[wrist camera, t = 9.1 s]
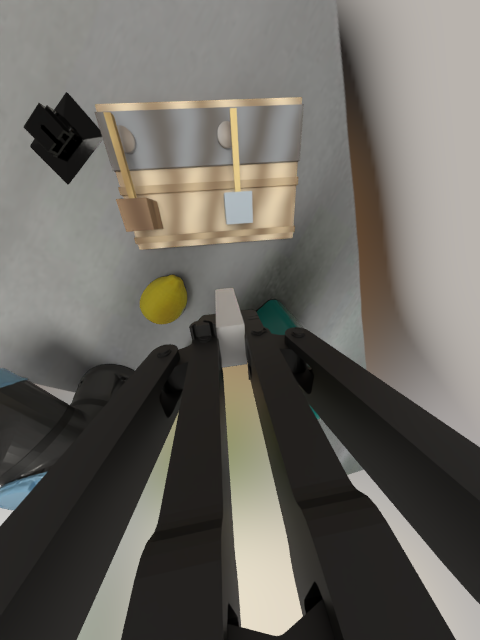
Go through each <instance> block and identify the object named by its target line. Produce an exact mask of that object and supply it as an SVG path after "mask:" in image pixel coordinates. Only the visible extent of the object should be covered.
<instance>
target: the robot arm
mask: <svg viewBox="0 0 480 640" xmlns="http://www.w3.org/2000/svg"><path fill="white" fill-rule="evenodd" d="M215 301H216V314H212V315H203V316H202V317H201V318H200V319H199V320H198V321H196V322H194V323H192V324H191V325H190V327H189V328H190V332H191V336H192V344H191V345H189V346H188V347H185V348H182V349H179V350H178V348H177V346H175V345H171V344H169V345H163V346H160V347H158V348H156V349H154V350H153V351H152V352H151V353H150V354H149V355H148V357H147V358H146V359H145V360H144V361H143V362H142V364H141V365H140V366H139V367H138V368H137V369H136V370H135V371H133V370H131V369H129V368H127V367H124V366H120V365H113V364H105V365H99V366H96V367H94V368H92V369H90V370H89V371H88V372H87V373H86V374H85V375H84V377H83V378H82V379H81V381H80V382H79V385H78V389H77V391H76V393H75V395H74V398H73V401H72V403H71V404H70V405H68V404H67V403H65V402H63V401H61V400H60V399H58V398H56V397H55V396H53V395H52V394H50V393H48V392H47V391H45V390H43V389H42V388H40V387H38V386H37V385H35V384H33V383H32V382H30V381H28V379H27V378H22V377H20V376H18V375H16V374H14V373H12V372H10V371H9V370H7V369H4V368H0V485H1V487H0V508H4V509H8V510H14V511H13V512H12V513H11V515H10V516H9V517H8V518H7V519H6V520H5V522H4V523H3V524H2V525H1V526H0V640H77V637H78V635H79V633H80V631H81V628H82V626H83V624H84V622H85V620H86V617H87V615H88V613H89V611H90V608H91V606H92V604H93V602H94V600H95V597H96V595H97V593H98V591H99V588H100V586H101V584H102V582H103V579H104V577H105V575H106V573H107V570H108V568H109V566H110V564H111V561H112V559H113V557H114V555H115V552H116V550H117V548H118V546H119V543H120V541H121V539H122V537H123V535H124V532H125V530H126V528H127V526H128V523H129V521H130V519H131V517H132V515H133V512H134V510H135V508H136V506H137V503H138V501H139V499H140V497H141V494H142V492H143V490H144V488H145V485H146V483H147V481H148V479H149V477H150V474H151V472H152V470H153V468H154V465H155V463H156V461H157V459H158V456H159V454H160V452H161V450H162V448H163V445H164V443H165V441H166V438H167V436H168V434H169V432H170V430H171V427H172V425H173V423H174V420H175V418H176V416H177V414H178V412H179V415H178V420H177V425H176V431H175V436H174V441H173V446H172V452H171V457H170V463H169V468H168V473H167V478H166V483H165V489H164V494H163V499H162V505H161V510H160V515H159V520H158V524H157V527H156V529H155V532H154V534H153V535H152V537H151V538H150V539H149V540H148V542H147V543H146V545H145V549H144V550H143V553H142V555H141V558H140V562H139V565H138V569H137V573H136V577H135V580H134V585H133V589H132V594H131V598H130V603H129V607H128V611H127V616H126V620H125V624H124V629H123V634H122V638H121V640H456V639H455V638H454V636H453V634H452V632H451V631H450V629H449V627H448V625H447V624H446V622H445V620H444V619H443V617H442V616H441V614H440V612H439V610H438V608H437V607H436V605H435V603H434V602H433V600H432V598H431V596H430V595H429V593H428V591H427V590H426V588H425V586H424V584H423V583H422V581H421V579H420V578H419V576H418V574H417V573H416V571H415V569H414V567H413V566H412V564H411V562H410V561H409V559H408V557H407V555H406V554H405V552H404V550H403V549H402V547H401V545H400V543H399V542H398V540H397V538H396V537H395V535H394V533H393V532H392V530H391V528H390V526H389V525H388V523H387V521H386V520H385V518H384V517H383V515H382V514H381V512H380V511H379V509H378V508H377V506H376V505H375V504H374V503H373V502H372V501H371V499H370V498H369V497H368V496H367V495H365V494H363V493H362V492H360V491H358V490H357V489H356V488H355V487H354V486H353V485H352V483H351V481H350V480H349V478H348V476H347V474H346V472H345V471H344V469H343V467H342V465H341V463H340V461H339V459H338V457H337V456H336V454H335V452H334V450H333V448H332V446H331V444H330V443H329V441H328V439H327V437H326V435H325V433H324V431H323V429H322V428H321V426H320V424H319V422H318V420H317V418H316V416H315V414H314V413H313V411H312V409H311V407H312V408H313V410H314V411H315V412H316V413H317V414H318V415H319V417H320V418H321V419H322V420H323V421H324V423H325V424H326V425H327V426H328V427H329V429H330V430H331V431H332V432H333V433H334V434H335V436H336V437H337V438H338V439H339V440H340V442H341V443H342V444H343V445H344V446H345V448H346V449H347V450H348V451H349V452H350V453H351V455H352V456H353V457H354V458H355V459H356V461H357V462H358V463H359V464H360V465H361V466H362V468H363V469H364V470H365V471H366V472H367V474H368V475H369V476H370V477H371V478H372V480H373V481H374V482H375V483H376V484H377V485H378V487H379V488H380V489H381V490H382V491H383V493H384V494H385V495H386V496H387V497H388V499H389V500H390V501H391V502H392V503H393V504H394V506H395V507H396V508H397V509H398V510H399V512H400V513H401V514H402V515H403V516H404V517H405V519H406V520H407V521H408V522H409V523H410V525H411V526H412V527H413V528H414V529H415V531H417V533H418V534H419V535H420V536H421V537H422V539H423V540H424V541H425V542H426V544H427V545H428V546H429V547H430V548H431V550H432V551H433V552H434V553H435V554H436V555H437V557H438V558H439V559H440V560H441V561H442V563H443V564H444V565H445V566H446V567H447V568H448V569H449V571H450V572H451V573H452V574H453V575H454V576H455V577H456V578H457V579H458V581H459V582H460V583H461V584H462V585H463V586H464V587H465V589H466V590H467V591H468V592H469V593H470V594H471V595H472V596H473V597H474V599H475V600H476V601H477V602H478V603H479V604H480V447H478V446H477V445H475V444H474V443H472V442H471V441H469V440H468V439H467V438H465V437H464V436H462V435H461V434H459V433H458V432H456V431H455V430H454V429H452V428H451V427H449V426H448V425H446V424H445V423H443V422H442V421H440V420H439V419H437V418H436V417H434V416H433V415H432V414H430V413H429V412H427V411H426V410H424V409H423V408H421V407H420V406H418V405H417V404H415V403H414V402H412V401H411V400H409V399H408V398H407V397H405V396H404V395H402V394H401V393H399V392H398V391H396V390H395V389H393V388H392V387H390V386H389V385H387V384H386V383H385V382H383V381H382V380H380V379H379V378H377V377H376V376H374V375H373V374H371V373H370V372H368V371H367V370H365V369H364V368H363V367H361V366H360V365H358V364H357V363H355V362H354V361H352V360H351V359H349V358H348V357H346V356H345V355H343V354H342V353H341V352H339V351H338V350H336V349H335V348H333V347H332V346H330V345H329V344H327V343H326V342H324V341H323V340H321V339H320V338H319V337H317V336H316V335H314V334H313V333H311V332H310V331H308V330H306V329H304V328H300V327H294V328H289V329H287V330H286V331H285V335H276V334H272V333H271V332H270V330H269V329H268V328H266V327H264V326H263V324H262V322H261V320H260V319H259V316H258V314H257V312H256V311H254V310H252V309H249V310H241V311H240V309H239V305H238V302H237V299H236V296H235V293H234V290H233V288H225V289H216V290H215ZM247 362H248V374H249V380H251V384H252V388H253V393H254V397H255V401H256V405H257V410H258V414H259V418H260V423H261V427H262V431H263V435H264V439H265V444H266V448H267V452H268V457H269V461H270V465H271V469H272V474H273V478H274V482H275V486H276V491H277V495H278V499H279V504H280V508H281V512H282V516H283V521H284V525H285V529H286V534H287V538H288V543H289V550H290V557H291V563H292V569H293V573H294V578H295V583H296V587H297V592H298V596H299V601H300V605H301V609H302V614H303V617H302V618H301V619H300V620H299V621H298V622H297V623H295V625H293V626H292V627H291V628H290V629H289V630H288V631H287V632H285V633H284V634H283V635H280V636H272V635H269V634H265V633H261V632H257V631H253V630H249V629H246V628H242V627H241V620H240V605H239V591H238V580H237V569H236V560H235V550H234V537H233V536H234V535H233V520H232V505H231V490H230V473H229V458H228V442H227V427H226V412H225V396H224V381H223V370H222V368H223V367H230V366H237V365H243V364H247ZM308 365H309V366H310V367H309V366H308ZM310 406H311V407H310Z"/></svg>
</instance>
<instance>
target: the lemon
mask: <svg viewBox="0 0 480 640" xmlns="http://www.w3.org/2000/svg"><path fill="white" fill-rule="evenodd" d="M186 303H187V292H186V289H185V287H184V283H183V281H182V279H181V278H179V277H177V276H175V275H169V276H166V277H160V278H157V279H156V280H154V281H153V282H151V283H150V284H149V285H148V286H147V288H146V289H145V290H144V292H143V294H142V296H141V299H140V308H141V312H142V313H143V315H144V316H145V317H146V318H147V319H148V320H150V321H151V322H153V323H156V324H167V323H170V322H173V321H174V320H176V319H177V318H178V317H179V316H180V315H181V314H182V313H183V312H184V310H185V307H186Z"/></svg>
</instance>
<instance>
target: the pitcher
mask: <svg viewBox="0 0 480 640" xmlns="http://www.w3.org/2000/svg"><path fill="white" fill-rule="evenodd" d="M257 314H258V316H259V319H260V320H261V322H262V324H263V326H264V327H266V328H268V329H269V330H270V332H271V333H272V334H276V335H285V331H286V330H287V329H289V328H294V327H300V328H302V327H301V325H300V324H299V323H298V321H297V320H296V319H295V318H294V316H293V315H292V314H291V313H290V312H289V311H288V310H287V309H286V308H285V307H284V306H283V305H282V304H281V303H280V302H279V301H278V300H270V301H268V302H267V303H265V304H264V305H263V306H262V307H261V308H260V309H259V310H258V311H257ZM308 366H309V365H308ZM309 367H310V366H309ZM310 407H311V406H310ZM311 409H312V411H313V413H314V414H315V416H316V418H317V419H320V417H319V415H318V414H317V413H316V412H315V411H314V410H313V408H312V407H311Z"/></svg>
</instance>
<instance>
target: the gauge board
mask: <svg viewBox="0 0 480 640" xmlns="http://www.w3.org/2000/svg"><path fill="white" fill-rule="evenodd" d="M303 105H304V104H302V97H296V98H266V99H237V100H208V101H179V102H150V103H121V104H95V107H96V110H97V112H95V115H96V118H97V121H98V125H99V128H100V131H101V134H102V137H103V141H104V144H105V147H106V150H107V153H108V157H109V160H110V163H111V166H112V169H113V171H115V172H116V175H117V178H118V181H119V184H120V187H118V188H119V192H120V195H122V196H123V197H124V199H116V201H117V204H118V207H119V210H120V213H121V216H122V219H123V222H124V225H125V228H126V232H130V231H134V233H135V236H136V238H134V239H135V243H136V244H138V246H139V249H140V250H142V249H155V248H168V247H181V246H194V245H207V244H219V243H232V242H245V241H258V240H271V239H284V238H292V236H293V232H294V230H295V226H293V221H294V207H295V192H296V185H297V184H298V177H297V163H298V161H299V160H300V147H301V133H302V119H303ZM230 108H237V127H238V147H239V167H240V187H241V192H242V191H252V208H253V223H241V224H226V219H225V207H224V193H226V192H235V188H234V172H233V157H232V141H231V125H230Z"/></svg>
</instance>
